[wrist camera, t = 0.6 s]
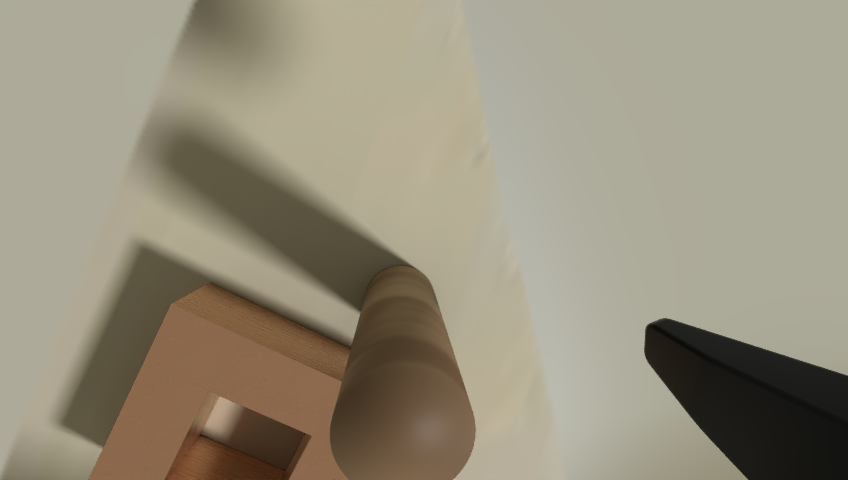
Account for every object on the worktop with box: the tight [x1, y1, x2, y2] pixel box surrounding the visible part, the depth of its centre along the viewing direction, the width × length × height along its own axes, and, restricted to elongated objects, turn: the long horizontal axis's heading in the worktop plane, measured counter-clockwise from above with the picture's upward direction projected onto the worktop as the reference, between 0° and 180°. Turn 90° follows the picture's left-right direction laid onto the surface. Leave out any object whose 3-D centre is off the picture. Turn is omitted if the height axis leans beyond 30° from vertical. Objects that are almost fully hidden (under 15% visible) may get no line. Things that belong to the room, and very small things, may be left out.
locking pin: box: [330, 265, 476, 480], centre depth 18 cm, size 4×4×13 cm
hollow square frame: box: [88, 283, 351, 480], centre depth 23 cm, size 12×12×4 cm
